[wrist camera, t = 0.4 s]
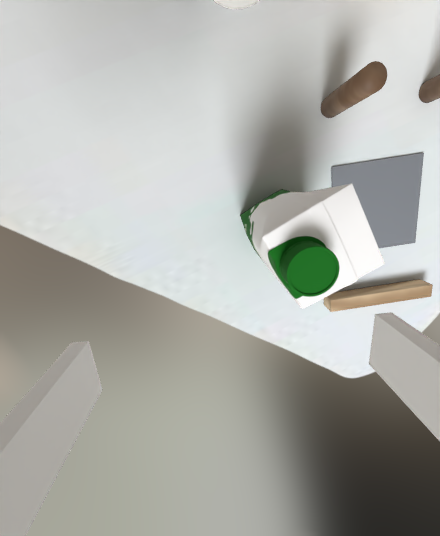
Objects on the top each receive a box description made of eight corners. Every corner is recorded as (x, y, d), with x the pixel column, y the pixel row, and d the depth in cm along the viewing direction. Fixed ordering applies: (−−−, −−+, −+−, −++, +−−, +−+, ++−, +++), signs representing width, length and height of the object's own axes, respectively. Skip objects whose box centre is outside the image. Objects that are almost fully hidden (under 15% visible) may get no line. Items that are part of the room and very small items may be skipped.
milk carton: (231, 213, 36) (256, 239, 17) (286, 179, 35) (376, 167, 16) (259, 261, 39) (309, 331, 20) (311, 231, 38) (416, 274, 19)
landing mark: (331, 167, 35) (332, 166, 35) (422, 152, 35) (423, 152, 35) (332, 255, 39) (333, 255, 39) (414, 242, 39) (415, 242, 39)
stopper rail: (323, 294, 41) (330, 300, 39) (419, 279, 41) (432, 284, 39) (323, 304, 42) (331, 311, 39) (418, 290, 42) (431, 296, 39)
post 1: (320, 96, 32) (361, 63, 24) (340, 93, 32) (387, 59, 24) (321, 119, 33) (360, 94, 25) (340, 116, 33) (386, 90, 25)
